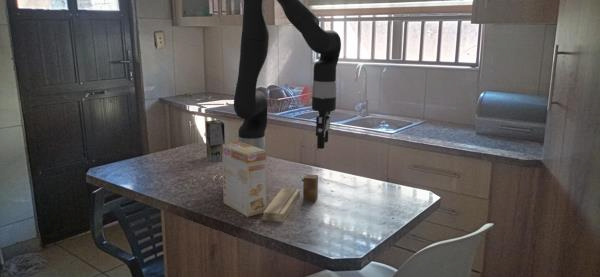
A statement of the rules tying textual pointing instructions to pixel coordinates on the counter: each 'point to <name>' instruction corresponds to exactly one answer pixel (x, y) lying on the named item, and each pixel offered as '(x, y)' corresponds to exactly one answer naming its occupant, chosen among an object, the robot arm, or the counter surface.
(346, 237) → the counter surface
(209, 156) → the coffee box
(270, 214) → the board
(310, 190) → the brown block with peg
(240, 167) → the coffeecake box
